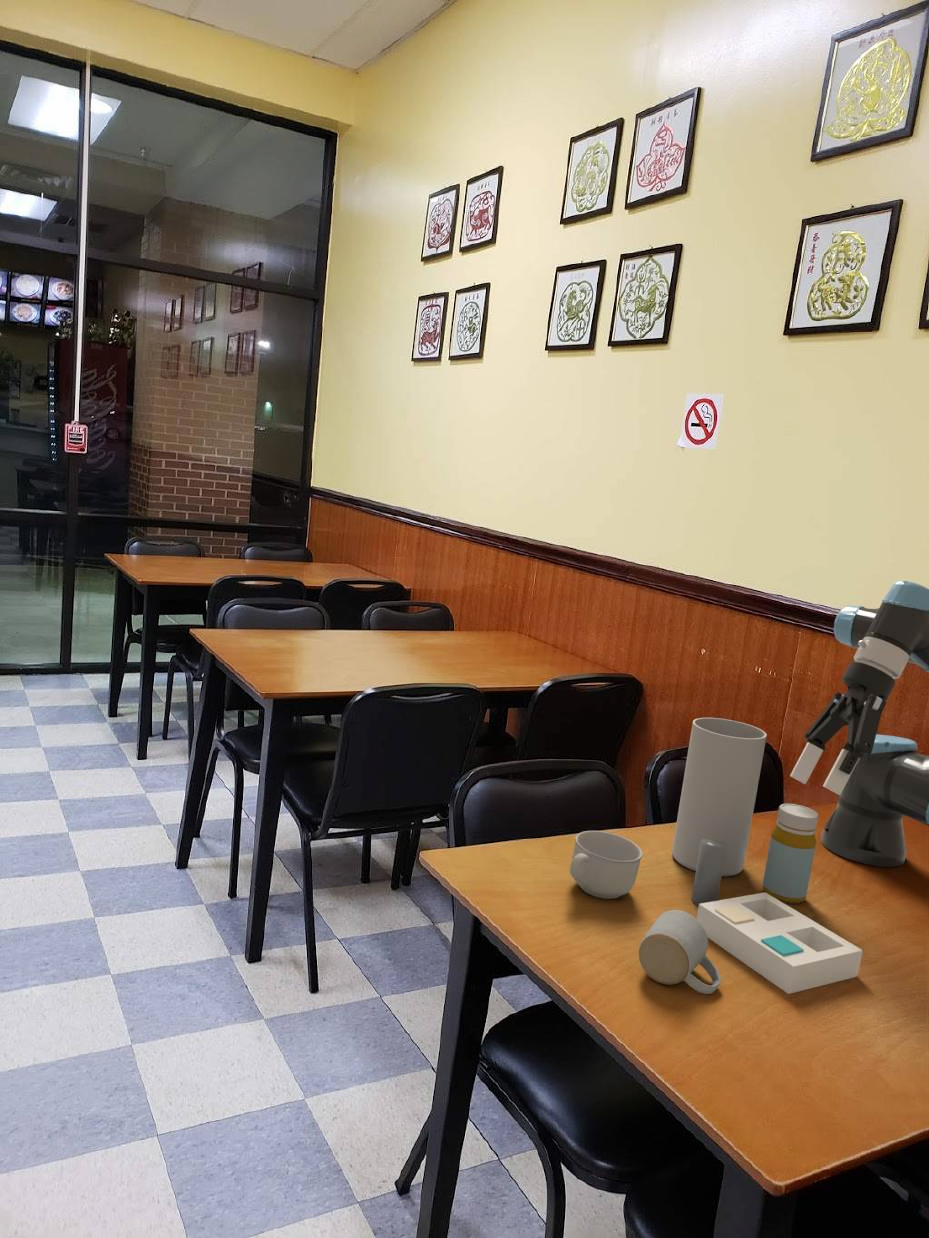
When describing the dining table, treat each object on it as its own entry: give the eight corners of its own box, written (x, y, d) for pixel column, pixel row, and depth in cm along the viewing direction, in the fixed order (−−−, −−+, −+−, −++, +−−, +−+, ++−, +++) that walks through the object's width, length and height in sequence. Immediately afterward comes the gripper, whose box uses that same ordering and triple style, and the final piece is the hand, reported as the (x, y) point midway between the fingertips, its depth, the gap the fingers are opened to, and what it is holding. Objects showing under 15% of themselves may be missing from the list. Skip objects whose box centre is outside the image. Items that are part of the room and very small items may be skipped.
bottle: (808, 908, 148) (824, 821, 146) (764, 900, 150) (779, 813, 147) (801, 890, 155) (817, 807, 153) (759, 882, 156) (774, 799, 154)
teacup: (604, 871, 154) (610, 826, 152) (649, 899, 145) (657, 852, 143) (539, 883, 146) (546, 836, 144) (583, 915, 137) (591, 865, 136)
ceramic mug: (631, 975, 121) (640, 923, 120) (650, 951, 128) (659, 901, 127) (709, 1007, 116) (720, 952, 115) (725, 980, 123) (735, 928, 122)
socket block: (761, 915, 144) (765, 890, 143) (857, 976, 128) (863, 948, 127) (694, 928, 137) (699, 901, 136) (788, 994, 121) (793, 964, 121)
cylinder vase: (657, 851, 165) (678, 718, 161) (709, 845, 171) (730, 716, 167) (704, 881, 154) (727, 740, 150) (758, 874, 160) (782, 737, 156)
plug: (704, 894, 149) (714, 837, 147) (722, 906, 145) (732, 847, 144) (686, 897, 147) (695, 839, 145) (703, 909, 143) (713, 849, 142)
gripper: (822, 660, 161) (766, 765, 159) (891, 658, 136) (825, 783, 135) (859, 680, 161) (804, 786, 159) (935, 682, 136) (869, 808, 134)
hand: (813, 785), depth 147 cm, fingers open, 13 cm apart
